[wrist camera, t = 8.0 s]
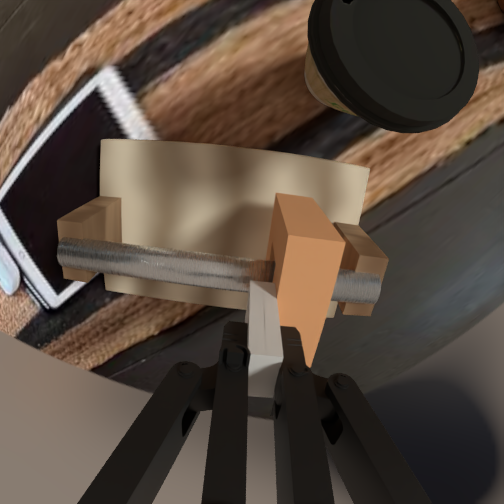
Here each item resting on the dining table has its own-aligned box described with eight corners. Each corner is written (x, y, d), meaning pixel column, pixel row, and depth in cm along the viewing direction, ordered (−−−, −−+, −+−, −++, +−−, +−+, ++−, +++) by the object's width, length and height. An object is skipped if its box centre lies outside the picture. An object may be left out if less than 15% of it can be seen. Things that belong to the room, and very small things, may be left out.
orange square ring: (259, 300, 28) (260, 379, 19) (275, 192, 25) (288, 235, 15) (291, 303, 29) (305, 382, 19) (312, 197, 25) (345, 242, 16)
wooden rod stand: (109, 284, 33) (74, 331, 24) (106, 139, 26) (55, 148, 18) (331, 311, 34) (350, 366, 25) (365, 167, 27) (407, 185, 19)
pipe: (76, 261, 23) (57, 278, 20) (72, 225, 22) (52, 239, 19) (362, 295, 24) (374, 317, 21) (372, 260, 23) (387, 279, 20)
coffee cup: (354, 148, 27) (440, 175, 13) (263, 90, 25) (272, 51, 11) (402, 71, 24) (506, 47, 10) (317, 11, 22) (368, -70, 8)
